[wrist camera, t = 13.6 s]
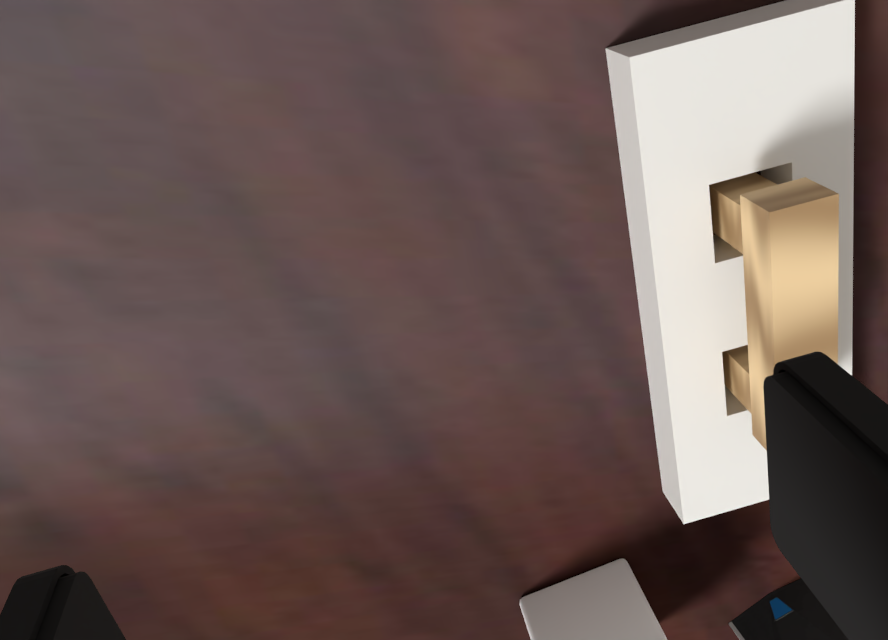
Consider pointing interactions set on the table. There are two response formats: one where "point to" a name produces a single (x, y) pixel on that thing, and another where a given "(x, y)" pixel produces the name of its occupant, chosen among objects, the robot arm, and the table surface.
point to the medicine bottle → (592, 608)
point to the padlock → (787, 617)
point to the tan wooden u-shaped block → (779, 277)
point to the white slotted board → (689, 212)
